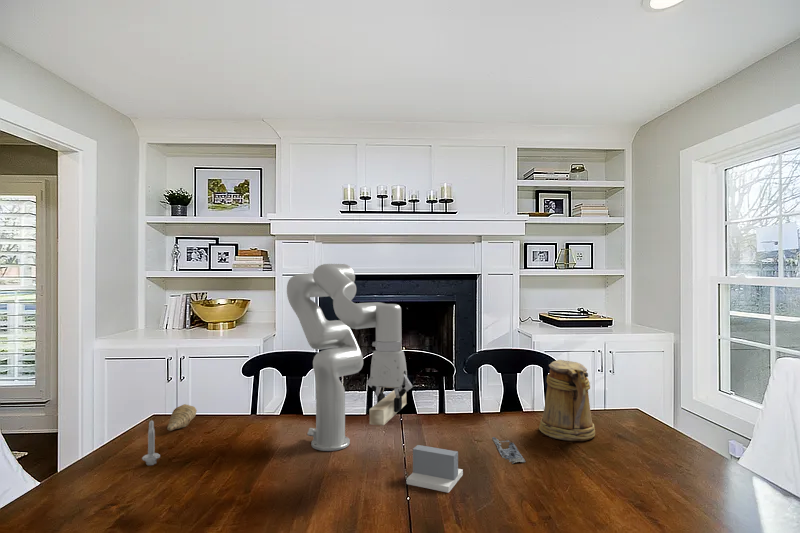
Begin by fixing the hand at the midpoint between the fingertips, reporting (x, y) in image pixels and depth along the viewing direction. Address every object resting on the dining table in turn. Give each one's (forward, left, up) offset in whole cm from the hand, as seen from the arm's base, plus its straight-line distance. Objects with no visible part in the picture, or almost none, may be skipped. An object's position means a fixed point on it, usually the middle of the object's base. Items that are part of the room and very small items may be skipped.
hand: (389, 409), depth 137 cm
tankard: (+44, +53, -18) cm, 71 cm away
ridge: (+14, 0, -18) cm, 22 cm away
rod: (0, 0, -1) cm, 1 cm away
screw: (-67, -26, -18) cm, 74 cm away
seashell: (-86, 0, -18) cm, 88 cm away
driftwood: (+28, +30, -18) cm, 45 cm away
